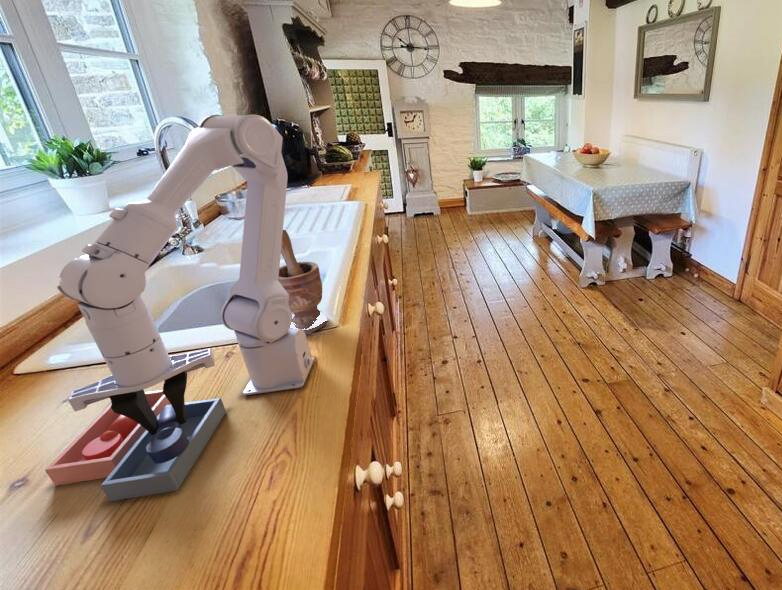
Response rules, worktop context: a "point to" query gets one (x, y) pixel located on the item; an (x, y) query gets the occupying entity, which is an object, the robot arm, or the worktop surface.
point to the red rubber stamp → (109, 439)
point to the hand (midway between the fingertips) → (169, 424)
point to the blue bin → (150, 478)
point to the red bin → (71, 460)
